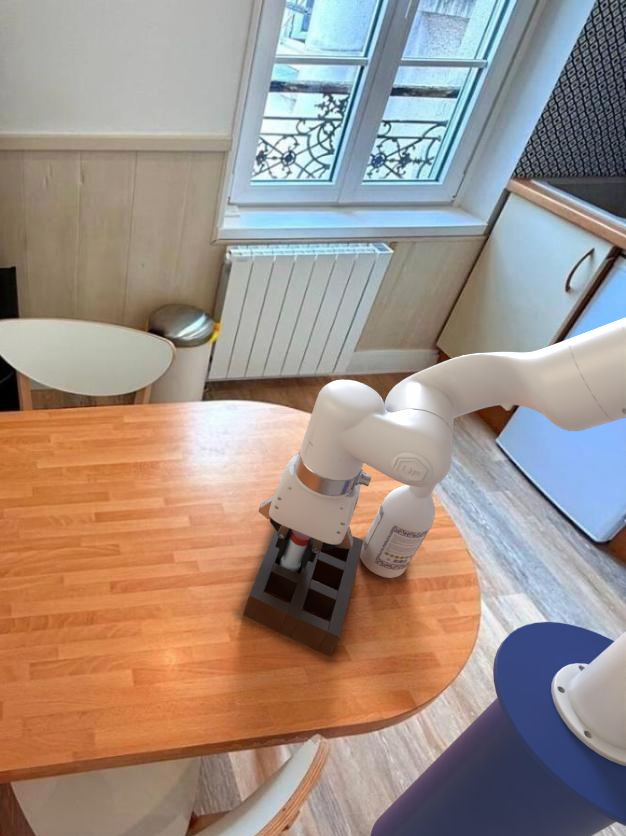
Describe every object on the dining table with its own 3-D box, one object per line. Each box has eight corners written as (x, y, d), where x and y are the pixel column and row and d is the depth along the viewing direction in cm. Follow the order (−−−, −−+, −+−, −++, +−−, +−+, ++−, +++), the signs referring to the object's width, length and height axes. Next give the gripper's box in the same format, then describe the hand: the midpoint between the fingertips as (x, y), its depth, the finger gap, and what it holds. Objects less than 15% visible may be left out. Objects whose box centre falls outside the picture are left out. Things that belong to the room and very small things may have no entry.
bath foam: (414, 572, 94) (468, 485, 82) (378, 584, 92) (427, 498, 80) (384, 537, 99) (430, 450, 87) (349, 548, 97) (391, 461, 85)
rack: (354, 559, 96) (363, 540, 92) (329, 656, 83) (339, 637, 80) (276, 527, 100) (283, 507, 97) (242, 614, 87) (249, 595, 84)
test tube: (298, 570, 92) (315, 528, 86) (293, 584, 90) (310, 543, 84) (279, 561, 93) (294, 520, 87) (274, 576, 91) (289, 534, 85)
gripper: (397, 473, 77) (355, 560, 88) (272, 428, 83) (247, 515, 94) (388, 514, 72) (344, 600, 83) (255, 463, 77) (231, 551, 89)
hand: (293, 554), depth 89 cm, fingers closed on test tube, 2 cm apart
